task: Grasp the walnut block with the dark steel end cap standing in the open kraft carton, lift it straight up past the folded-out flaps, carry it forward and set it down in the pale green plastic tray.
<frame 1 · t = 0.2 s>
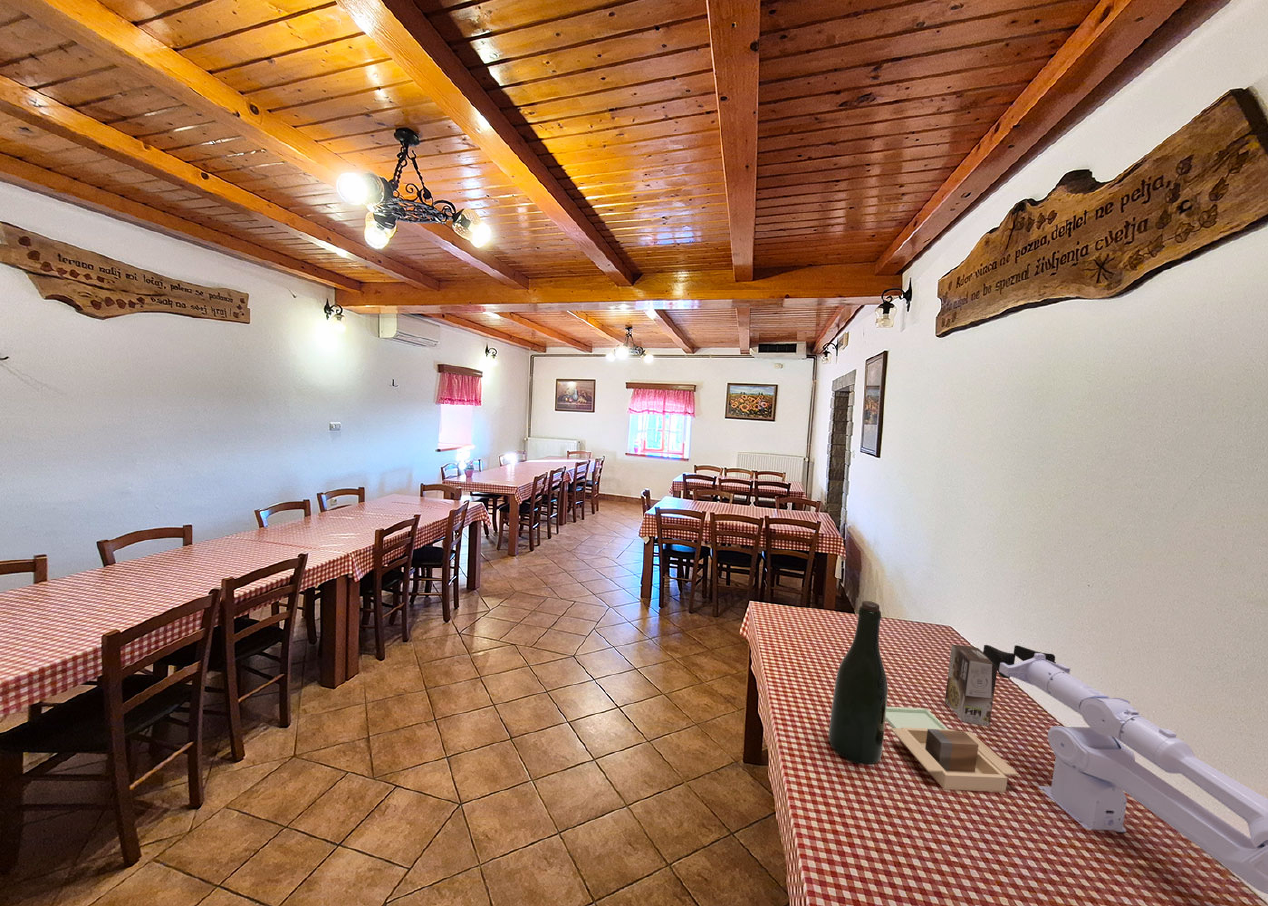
hand: (1000, 649, 104), 21 cm above the table, tool horizontal, fingers open, 7 cm apart
carton: (948, 766, 94), on the table
beer bottle: (853, 749, 97), on the table
green tray: (914, 726, 107), on the table
walnut block: (949, 763, 94), point 1 cm above the table, touching carton
coffee box: (965, 715, 113), on the table
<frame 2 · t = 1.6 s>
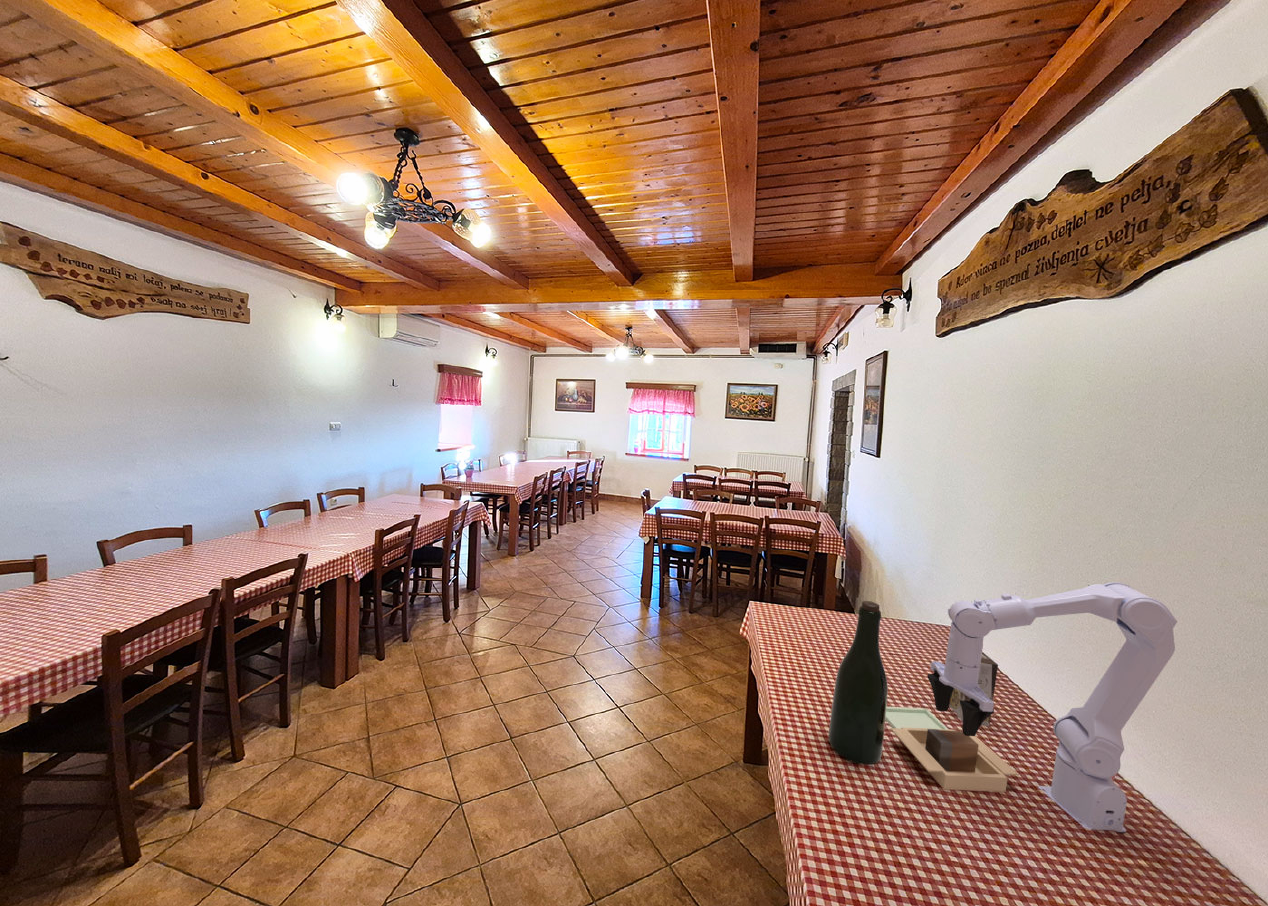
hand: (954, 722, 93), 10 cm above the table, tool pointing down, fingers open, 7 cm apart
nothing on the table moved.
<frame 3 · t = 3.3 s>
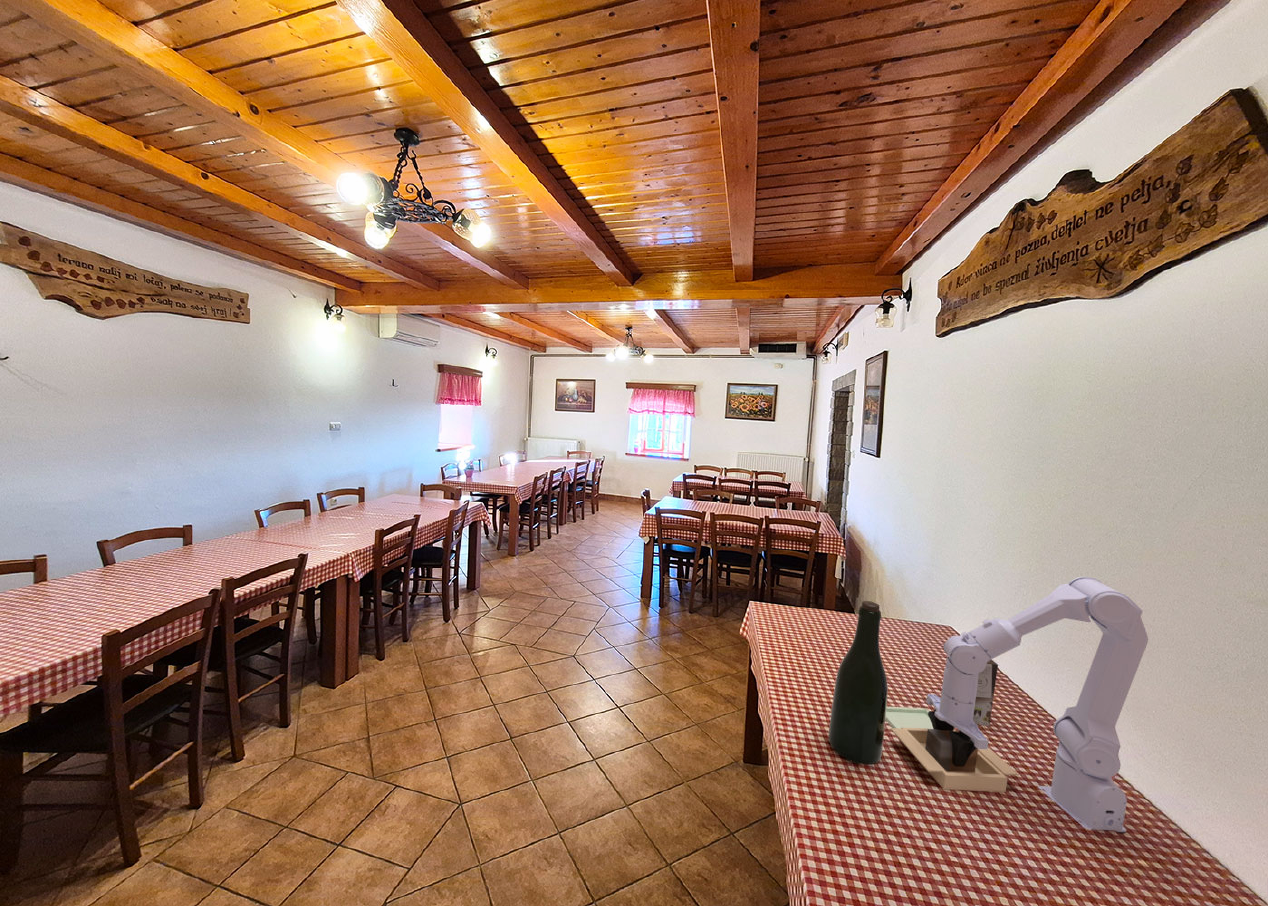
hand: (950, 756, 94), 2 cm above the table, tool pointing down, fingers closed on walnut block, 4 cm apart
walnut block: (949, 763, 94), point 1 cm above the table, touching carton, gripper
everything else where it was.
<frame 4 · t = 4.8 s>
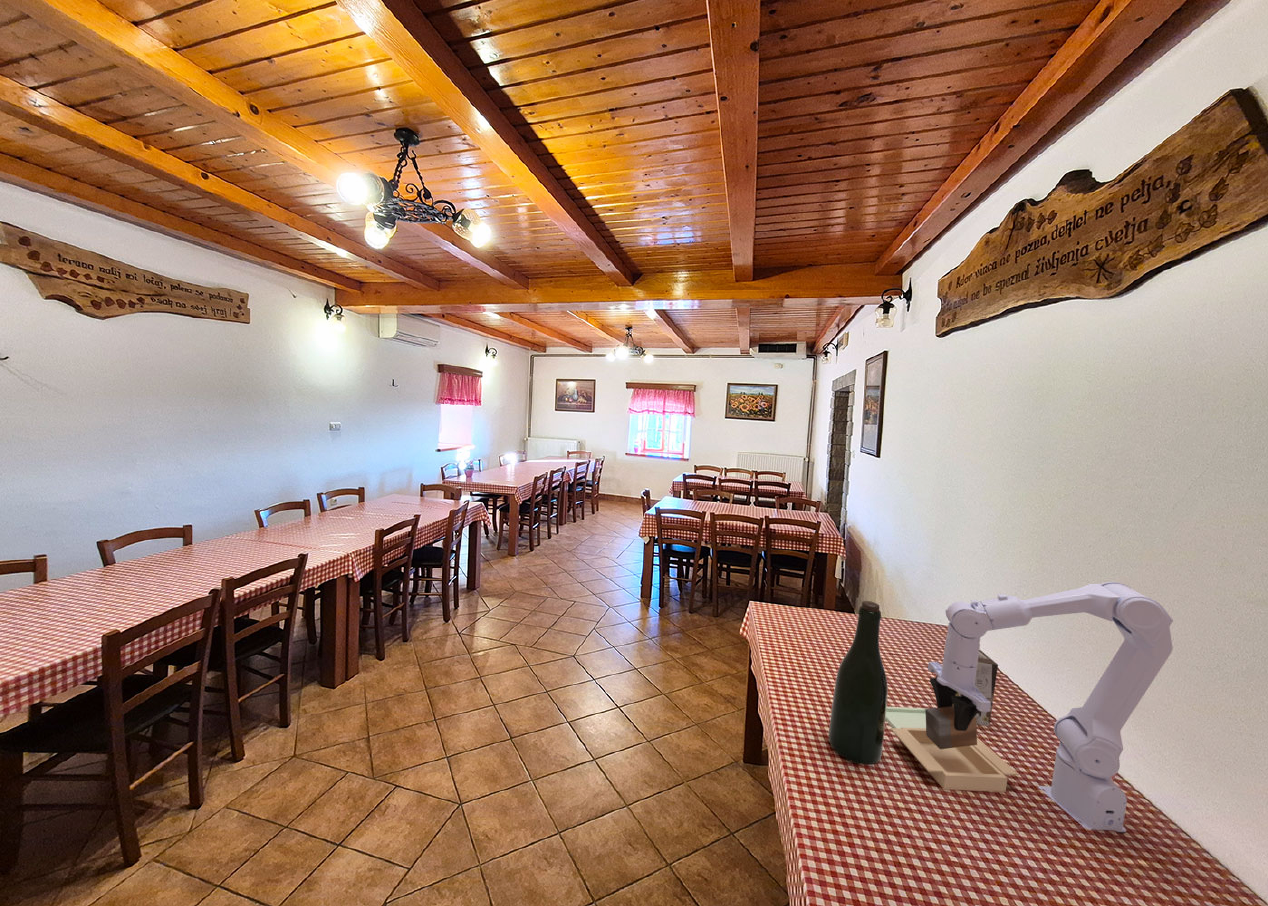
hand: (951, 722, 94), 9 cm above the table, tool pointing down, fingers closed on walnut block, 4 cm apart
walnut block: (951, 740, 94), point 5 cm above the table, tilted 9°, touching gripper
everything else where it was.
when the fingers open (9 cm above the table, at t = 5.3 s): walnut block drops 3 cm, resting on green tray.
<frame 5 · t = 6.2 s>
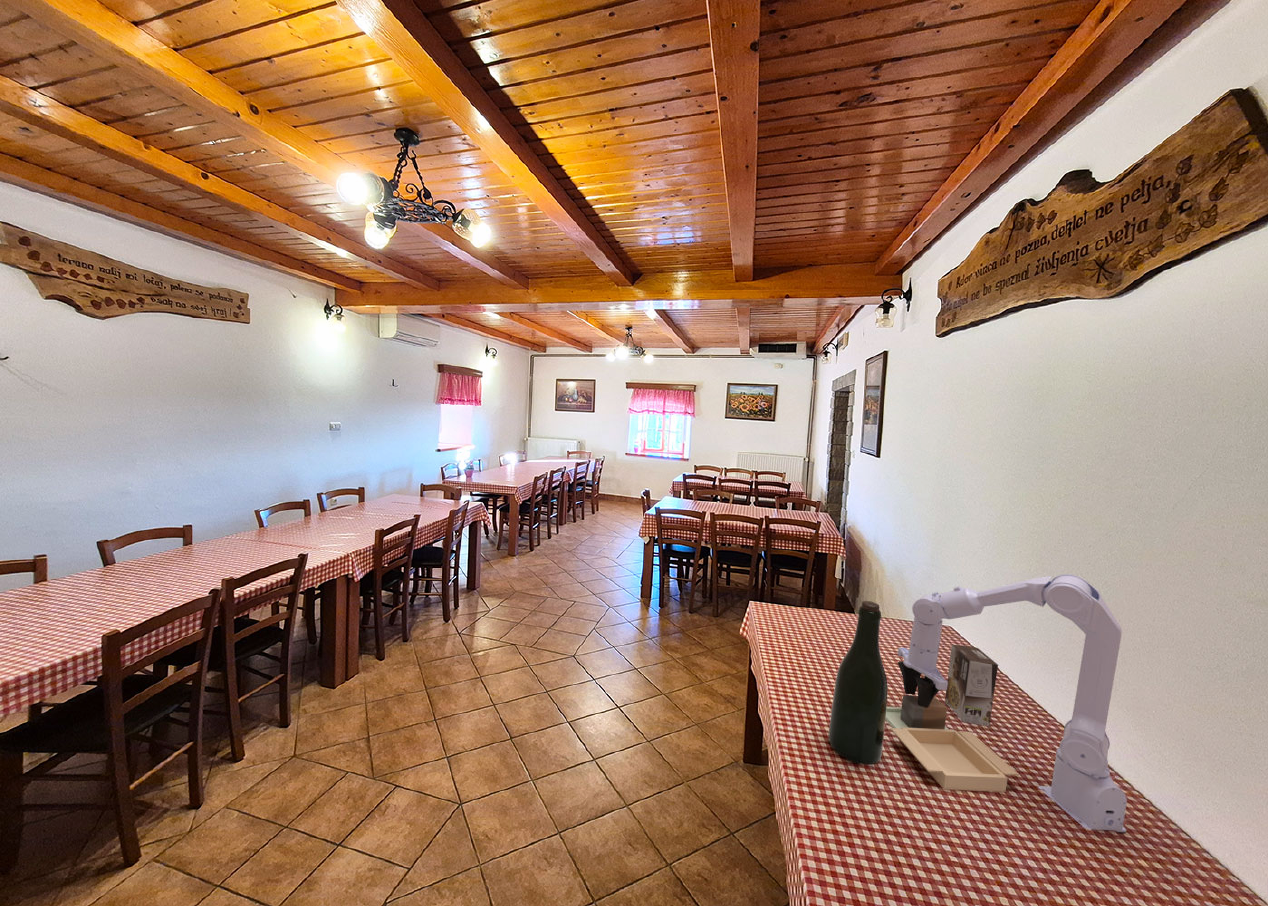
hand: (916, 700, 107), 6 cm above the table, tool pointing down, fingers open, 4 cm apart
walnut block: (921, 725, 106), point 1 cm above the table, touching green tray, gripper
everything else where it was.
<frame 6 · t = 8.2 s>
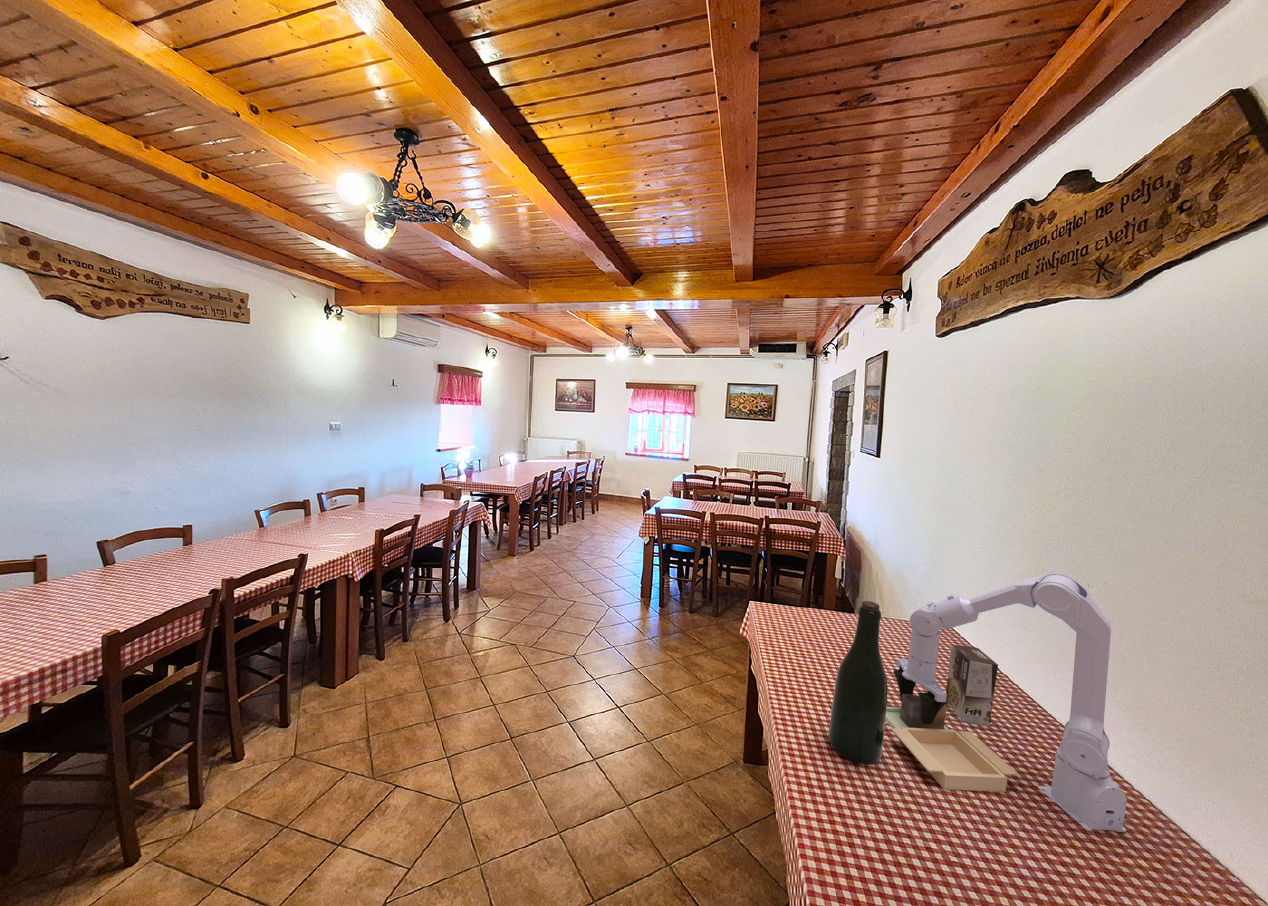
hand: (915, 712, 106), 4 cm above the table, tool pointing down, fingers open, 7 cm apart
walnut block: (921, 724, 107), point 1 cm above the table, touching green tray
everything else where it was.
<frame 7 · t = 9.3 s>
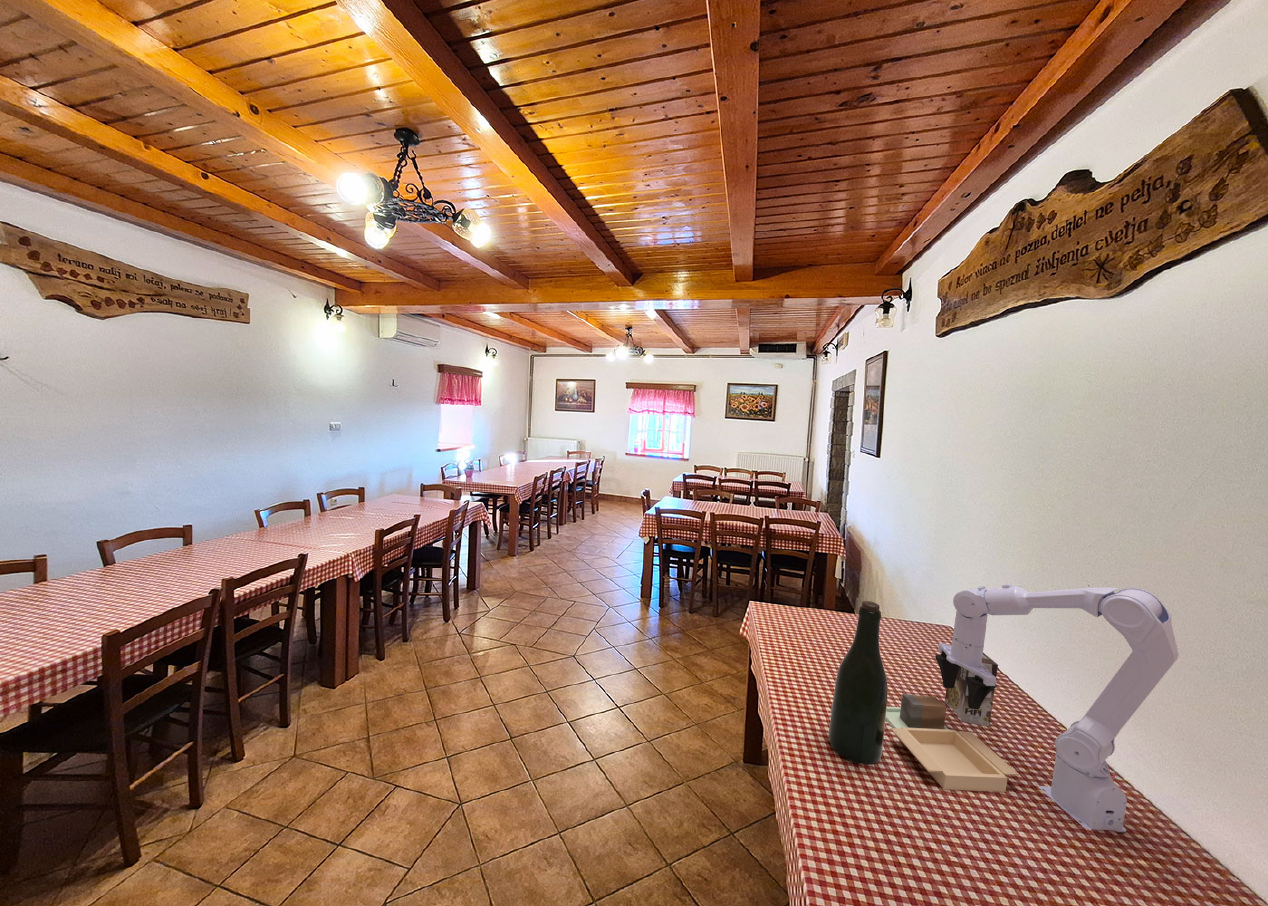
hand: (960, 697, 103), 10 cm above the table, tool pointing down, fingers open, 7 cm apart
nothing on the table moved.
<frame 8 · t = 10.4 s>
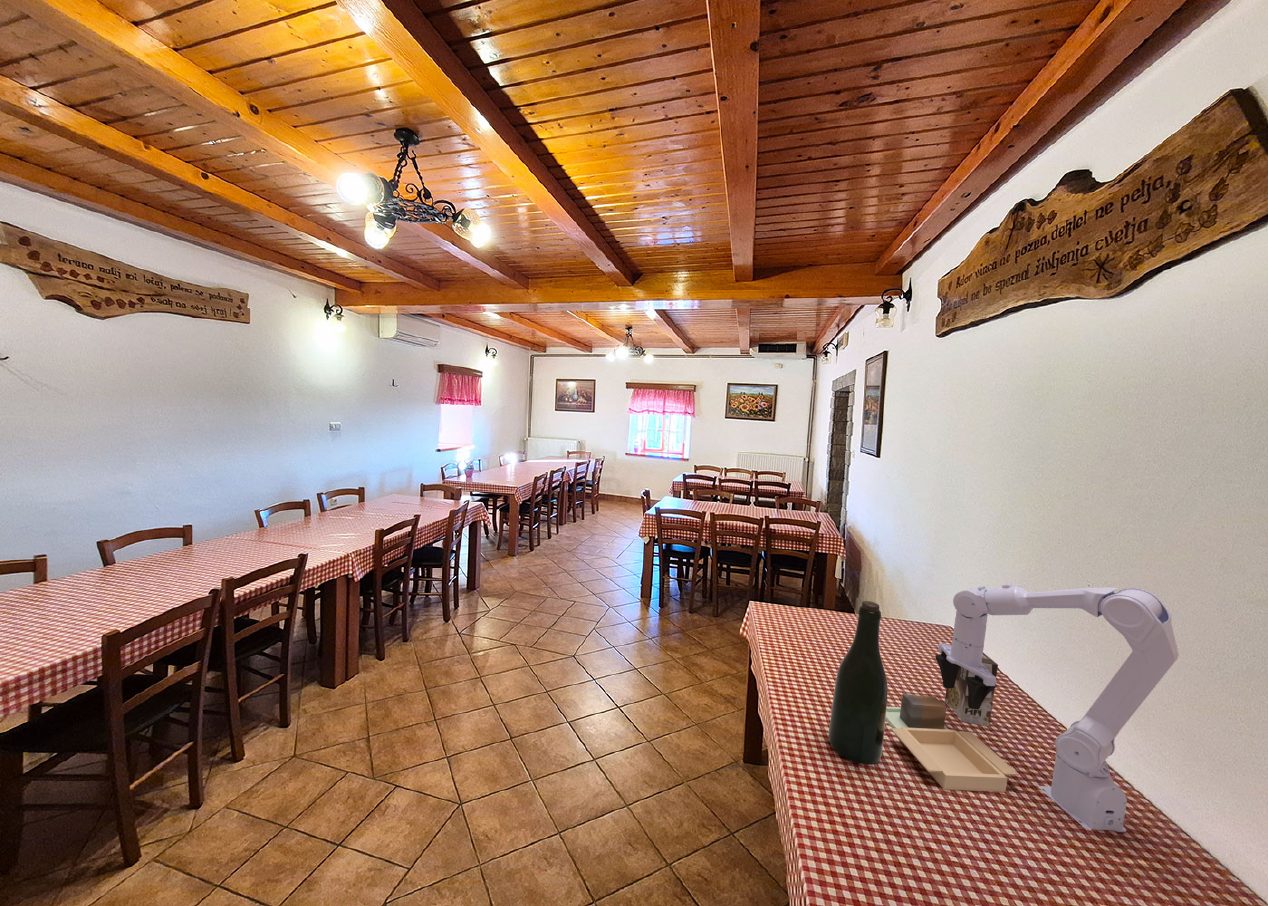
hand: (960, 697, 103), 10 cm above the table, tool pointing down, fingers open, 7 cm apart
nothing on the table moved.
at the end: walnut block inside the target area on the green tray (1.6 cm from its centre), point 0.6 cm above the green tray's base; walnut block tilted 0°; the gripper is holding nothing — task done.
